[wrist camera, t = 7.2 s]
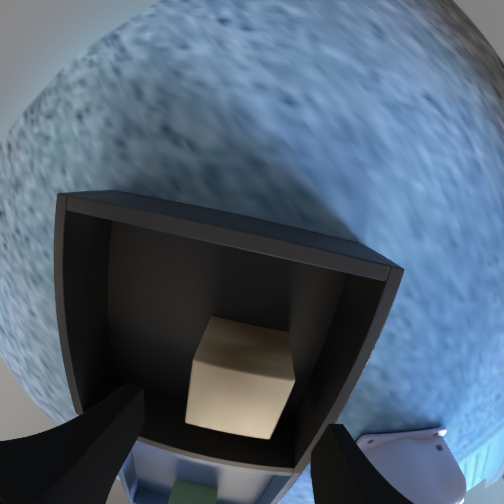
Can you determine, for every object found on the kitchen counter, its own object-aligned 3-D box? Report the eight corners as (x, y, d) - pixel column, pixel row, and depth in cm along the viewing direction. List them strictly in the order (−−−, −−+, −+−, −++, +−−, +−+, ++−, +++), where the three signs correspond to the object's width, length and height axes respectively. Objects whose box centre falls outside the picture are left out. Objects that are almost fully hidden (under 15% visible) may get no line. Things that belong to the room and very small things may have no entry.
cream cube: (289, 331, 14) (296, 380, 10) (269, 388, 14) (269, 440, 11) (211, 315, 14) (192, 359, 10) (201, 374, 14) (184, 423, 11)
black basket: (364, 244, 13) (405, 269, 8) (296, 421, 16) (301, 473, 11) (111, 189, 13) (57, 193, 9) (106, 373, 16) (75, 413, 11)
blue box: (299, 441, 16) (302, 473, 13) (253, 510, 19) (252, 530, 17) (121, 400, 16) (104, 426, 13) (135, 483, 19) (127, 501, 17)
